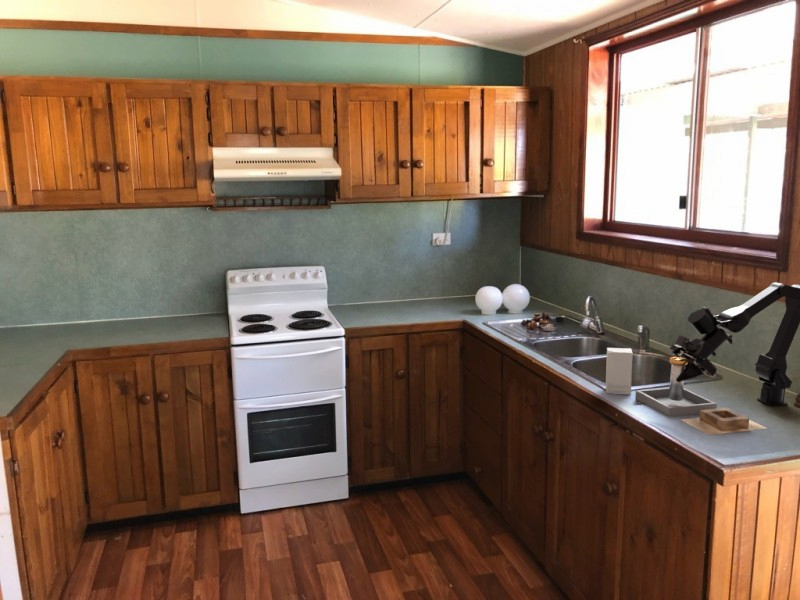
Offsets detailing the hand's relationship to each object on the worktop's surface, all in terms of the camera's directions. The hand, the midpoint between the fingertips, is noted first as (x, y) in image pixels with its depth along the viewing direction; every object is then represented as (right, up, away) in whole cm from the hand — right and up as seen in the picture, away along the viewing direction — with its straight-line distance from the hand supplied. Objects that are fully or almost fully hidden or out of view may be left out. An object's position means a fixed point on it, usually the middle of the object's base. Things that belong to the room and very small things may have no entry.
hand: (673, 378), depth 211 cm
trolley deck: (+9, -12, -14) cm, 21 cm away
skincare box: (-12, -6, +17) cm, 22 cm away
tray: (+1, -9, +2) cm, 10 cm away
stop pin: (+1, -6, +1) cm, 7 cm away
